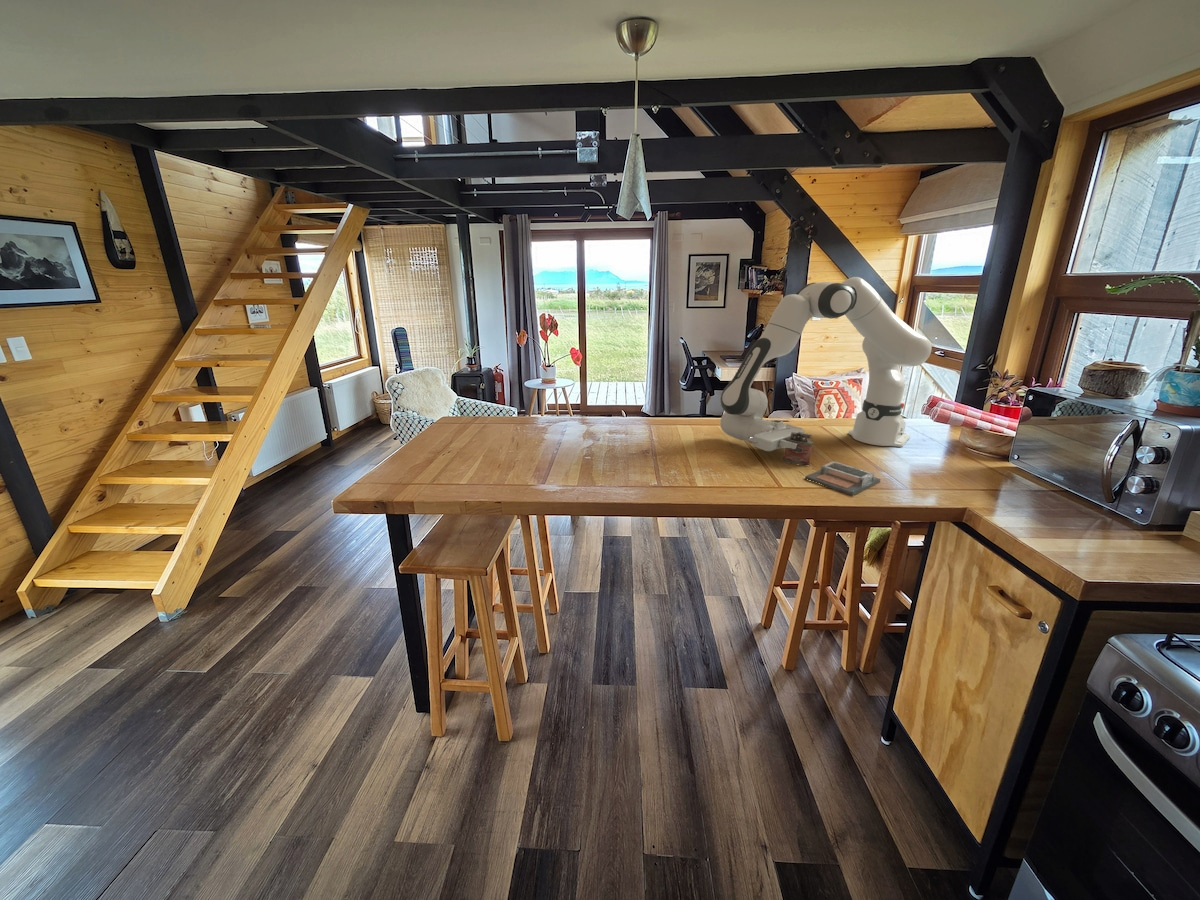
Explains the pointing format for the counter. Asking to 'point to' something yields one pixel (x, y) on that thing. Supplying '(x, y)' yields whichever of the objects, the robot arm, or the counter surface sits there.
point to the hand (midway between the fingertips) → (801, 444)
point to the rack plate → (843, 478)
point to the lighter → (799, 449)
